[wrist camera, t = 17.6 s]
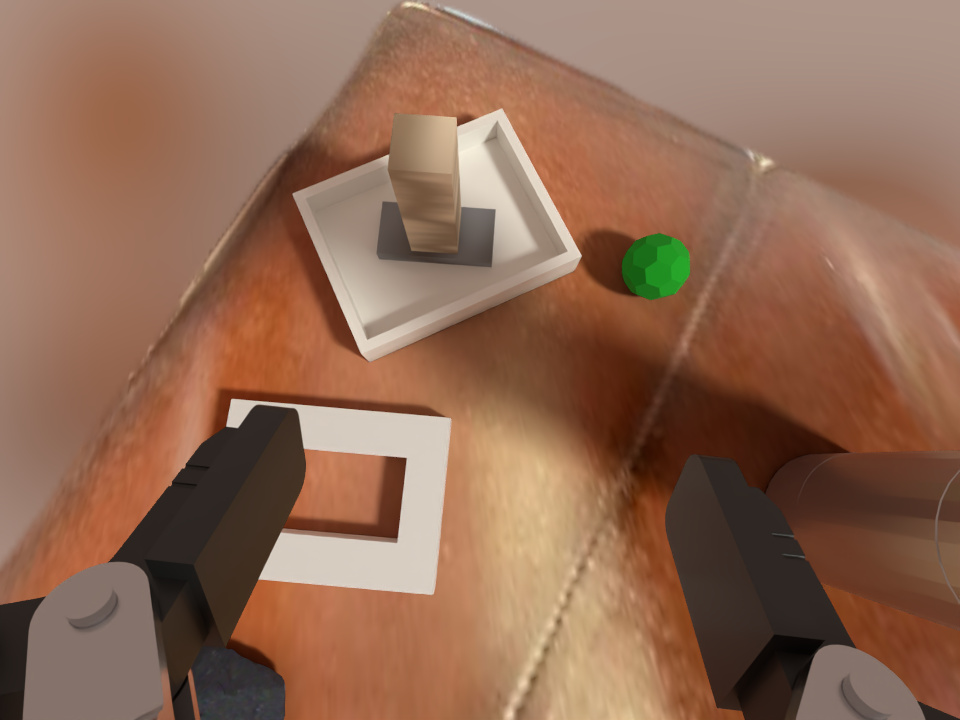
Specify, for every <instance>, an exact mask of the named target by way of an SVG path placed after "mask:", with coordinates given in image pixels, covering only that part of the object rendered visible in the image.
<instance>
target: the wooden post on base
mask: <svg viewBox="0 0 960 720" xmlns="http://www.w3.org/2000/svg"><path fill="white" fill-rule="evenodd" d="M387 170H388V173H389V176H390V180H391V183H392V187H393V190H394V193H395V197H396V200H397V202H385V201H383V202H382V210H381V219H380V227H379V235H378V244H377V252H376V253H377V256H378V258H379V259H382V260H396V261H410V262H424V263H438V264H452V265H466V266H481V267H492V255H493V241H494V227H495V212H496V209H484V208H469V207H461V195H460V175H459V156H458V137H457V118H456V117H441V116H427V115H413V114H399V113H394V119H393V127H392V136H391V144H390V152H389V161H388V169H387Z"/></svg>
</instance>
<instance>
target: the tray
mask: <svg viewBox="0 0 960 720" xmlns="http://www.w3.org/2000/svg"><path fill="white" fill-rule="evenodd" d="M457 137H458V156H459V175H460V195H461V207H469V208H484V209H496V212H495V227H494V241H493V255H492V267H481V266H466V265H452V264H438V263H424V262H410V261H396V260H382V259H379V258H378V256H377V253H376V252H377V244H378V235H379V227H380V219H381V210H382V202H383V201H385V202H397V200H396V197H395V193H394V190H393V187H392V183H391V180H390V176H389V173H388V170H387V169H388V161H389V155H386V156H384V157H381V158H379V159H376V160H374V161H371V162H369V163H366V164H364V165H362V166H359V167H357V168H354V169H352V170H349V171H347V172H344V173H342V174H339V175H337V176H334V177H332V178H329V179H327V180H325V181H322V182H320V183H317V184H315V185H312V186H310V187H307V188H305V189H302V190H300V191H297V192H295V193H292V195H293V197H294V199H295V202H296V204H297V206H298V209H299V211H300V213H301V216H302V218H303V220H304V222H305V225H306V227H307V229H308V232H309V234H310V236H311V239H312V241H313V243H314V246H315V248H316V250H317V253H318V255H319V257H320V260H321V262H322V264H323V267H324V269H325V271H326V274H327V276H328V278H329V281H330V283H331V285H332V287H333V290H334V292H335V294H336V297H337V299H338V301H339V304H340V306H341V308H342V311H343V313H344V315H345V318H346V320H347V322H348V325H349V327H350V329H351V332H352V334H353V336H354V339H355V341H356V343H357V346H358V348H359V350H360V352H361V354H362V355H363V356H364V357H365V358H366V359H367V360H368V361H369V362H372V361H374V360H376V359H378V358H381V357H383V356H385V355H387V354H390V353H392V352H394V351H396V350H399V349H401V348H403V347H405V346H408V345H410V344H412V343H414V342H416V341H419V340H421V339H423V338H425V337H428V336H430V335H432V334H434V333H437V332H439V331H441V330H443V329H446V328H448V327H450V326H452V325H455V324H457V323H459V322H461V321H463V320H466V319H468V318H470V317H472V316H475V315H477V314H479V313H481V312H484V311H486V310H488V309H490V308H493V307H495V306H497V305H499V304H502V303H504V302H506V301H508V300H511V299H513V298H515V297H517V296H519V295H522V294H524V293H526V292H528V291H531V290H533V289H535V288H537V287H540V286H542V285H544V284H546V283H549V282H551V281H553V280H555V279H558V278H560V277H562V276H564V275H567V274H569V273H571V272H573V271H574V270H575V269H576V267H577V265H578V263H579V261H580V259H581V257H582V255H581V254H580V252H579V250H578V248H577V246H576V244H575V243H574V241H573V239H572V237H571V235H570V233H569V231H568V230H567V228H566V226H565V224H564V222H563V220H562V218H561V217H560V215H559V213H558V211H557V209H556V207H555V206H554V204H553V202H552V200H551V198H550V196H549V194H548V193H547V191H546V189H545V187H544V185H543V183H542V181H541V180H540V178H539V176H538V174H537V172H536V170H535V169H534V167H533V165H532V163H531V161H530V159H529V157H528V156H527V154H526V152H525V150H524V148H523V146H522V144H521V143H520V141H519V139H518V137H517V135H516V133H515V132H514V130H513V128H512V126H511V124H510V122H509V120H508V119H507V117H506V115H505V113H504V111H503V109H500V110H497V111H495V112H492V113H490V114H487V115H485V116H482V117H480V118H477V119H475V120H473V121H470V122H468V123H465V124H463V125H460V126H458V127H457Z"/></svg>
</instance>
